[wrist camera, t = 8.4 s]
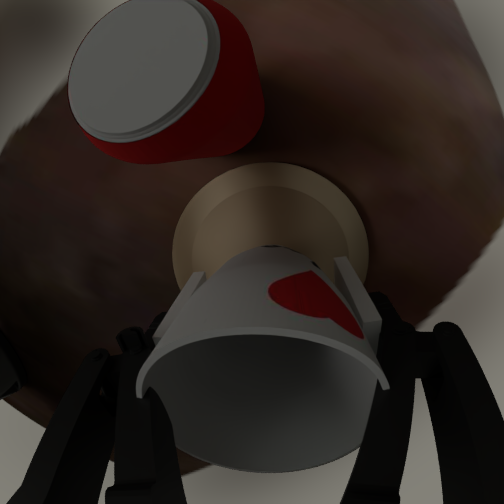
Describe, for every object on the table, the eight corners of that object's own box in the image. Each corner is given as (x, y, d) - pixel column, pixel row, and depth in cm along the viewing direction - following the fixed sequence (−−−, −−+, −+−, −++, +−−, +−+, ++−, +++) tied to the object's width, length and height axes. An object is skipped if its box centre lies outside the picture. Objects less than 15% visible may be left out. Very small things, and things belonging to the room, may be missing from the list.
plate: (199, 343, 23) (197, 350, 22) (158, 180, 18) (152, 182, 18) (362, 329, 21) (365, 335, 20) (360, 153, 17) (364, 153, 16)
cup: (358, 300, 17) (412, 429, 7) (254, 354, 19) (236, 483, 9) (291, 190, 15) (317, 260, 5) (179, 265, 17) (93, 380, 7)
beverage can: (162, 93, 16) (38, 49, 5) (245, 57, 15) (204, -53, 4) (192, 170, 18) (79, 205, 7) (279, 136, 17) (287, 107, 6)
